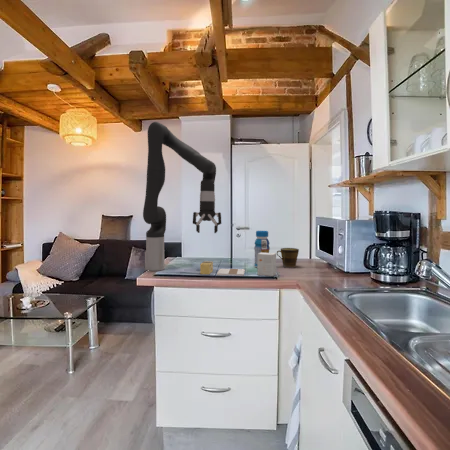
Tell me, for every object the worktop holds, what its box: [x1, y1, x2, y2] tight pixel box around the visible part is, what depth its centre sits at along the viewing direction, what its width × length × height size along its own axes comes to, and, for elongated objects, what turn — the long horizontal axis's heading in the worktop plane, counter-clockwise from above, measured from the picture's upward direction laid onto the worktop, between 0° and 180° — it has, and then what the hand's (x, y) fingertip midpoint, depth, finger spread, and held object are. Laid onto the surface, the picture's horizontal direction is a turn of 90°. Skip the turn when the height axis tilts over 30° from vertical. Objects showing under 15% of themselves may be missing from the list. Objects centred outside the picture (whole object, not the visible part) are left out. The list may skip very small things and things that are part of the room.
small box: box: [257, 252, 277, 277], centre depth 146 cm, size 8×6×10 cm
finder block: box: [199, 260, 214, 275], centre depth 152 cm, size 5×9×5 cm, turn 172°
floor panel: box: [216, 268, 246, 277], centre depth 150 cm, size 13×12×1 cm
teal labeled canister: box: [253, 230, 271, 269], centre depth 166 cm, size 8×8×20 cm
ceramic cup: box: [276, 247, 300, 269], centre depth 167 cm, size 13×10×10 cm
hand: (206, 232), depth 151 cm, fingers open, 8 cm apart
